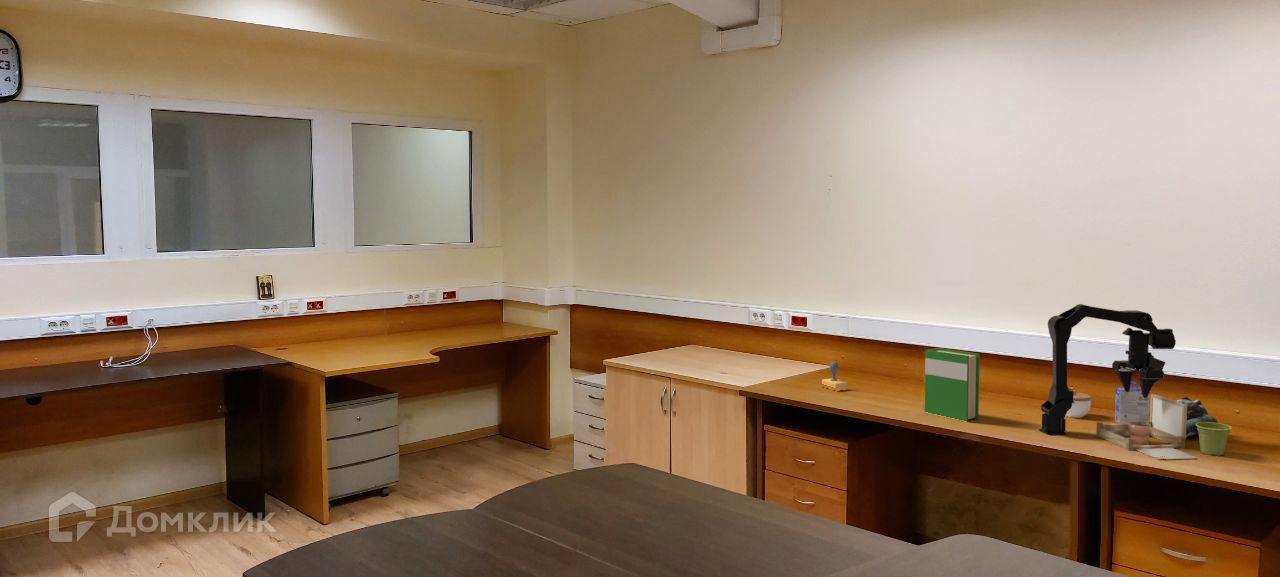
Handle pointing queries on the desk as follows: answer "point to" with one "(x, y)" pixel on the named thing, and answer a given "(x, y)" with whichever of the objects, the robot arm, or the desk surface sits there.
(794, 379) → the desk surface
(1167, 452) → the stone tile
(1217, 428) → the plant pot
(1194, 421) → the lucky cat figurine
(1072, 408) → the lidded jar
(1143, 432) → the seedling pot
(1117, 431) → the frame
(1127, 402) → the ink cartridge box
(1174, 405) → the lid pane
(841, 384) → the rubber stamp
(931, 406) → the hardback book
